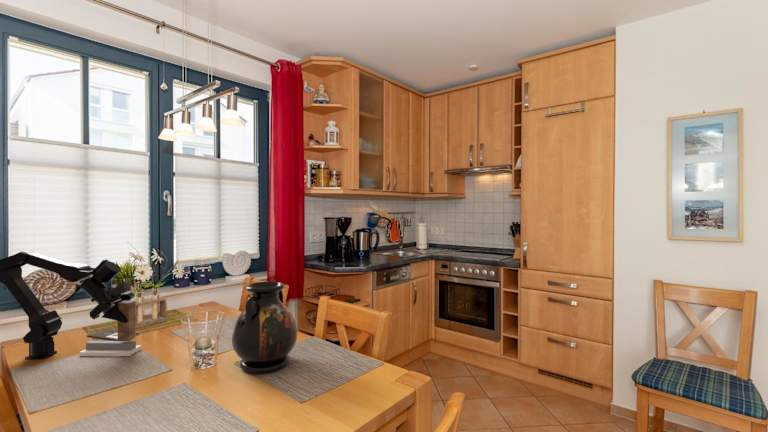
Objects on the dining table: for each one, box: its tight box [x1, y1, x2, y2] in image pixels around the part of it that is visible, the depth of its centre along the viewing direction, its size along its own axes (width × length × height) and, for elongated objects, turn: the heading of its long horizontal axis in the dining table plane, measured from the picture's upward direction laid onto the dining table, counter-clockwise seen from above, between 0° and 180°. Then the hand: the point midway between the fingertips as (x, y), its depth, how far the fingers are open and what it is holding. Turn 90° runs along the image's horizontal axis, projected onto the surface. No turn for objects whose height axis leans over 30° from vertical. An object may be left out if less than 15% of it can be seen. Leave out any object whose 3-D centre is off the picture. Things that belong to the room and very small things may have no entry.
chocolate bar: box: [86, 328, 139, 341], centre depth 158 cm, size 9×1×18 cm
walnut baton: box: [117, 300, 136, 341], centre depth 139 cm, size 4×4×14 cm
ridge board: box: [79, 340, 142, 357], centre depth 139 cm, size 18×7×4 cm, turn 89°
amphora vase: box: [231, 281, 298, 375], centre depth 129 cm, size 22×22×28 cm
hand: (130, 320), depth 139 cm, fingers closed on walnut baton, 4 cm apart
